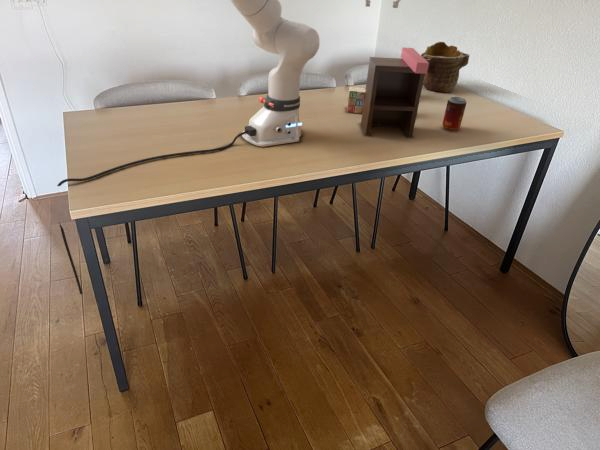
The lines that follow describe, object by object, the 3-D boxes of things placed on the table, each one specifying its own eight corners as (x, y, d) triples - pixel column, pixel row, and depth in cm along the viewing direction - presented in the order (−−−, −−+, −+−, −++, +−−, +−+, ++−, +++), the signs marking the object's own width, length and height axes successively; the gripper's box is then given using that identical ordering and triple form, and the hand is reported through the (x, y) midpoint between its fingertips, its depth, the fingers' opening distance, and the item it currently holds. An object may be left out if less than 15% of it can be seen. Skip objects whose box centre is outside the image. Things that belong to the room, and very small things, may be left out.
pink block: (426, 73, 150) (429, 63, 148) (415, 73, 149) (417, 62, 147) (411, 57, 168) (412, 47, 166) (400, 57, 168) (402, 47, 166)
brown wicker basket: (457, 84, 205) (437, 32, 203) (417, 105, 225) (398, 58, 223) (483, 76, 217) (464, 27, 216) (443, 96, 237) (425, 52, 236)
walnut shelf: (412, 137, 171) (426, 67, 156) (365, 135, 170) (375, 65, 155) (404, 125, 181) (417, 59, 166) (360, 124, 180) (369, 57, 165)
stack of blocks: (346, 112, 190) (350, 83, 183) (347, 107, 195) (350, 79, 189) (397, 116, 189) (402, 87, 182) (396, 111, 194) (401, 83, 187)
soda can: (445, 124, 185) (452, 94, 178) (461, 128, 181) (470, 98, 174) (438, 128, 180) (445, 98, 173) (455, 133, 177) (463, 103, 170)
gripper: (356, -43, 139) (351, 6, 147) (421, -39, 140) (412, 9, 148) (354, -44, 144) (349, 4, 152) (416, -40, 145) (408, 6, 153)
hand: (381, 6), depth 150 cm, fingers open, 8 cm apart
